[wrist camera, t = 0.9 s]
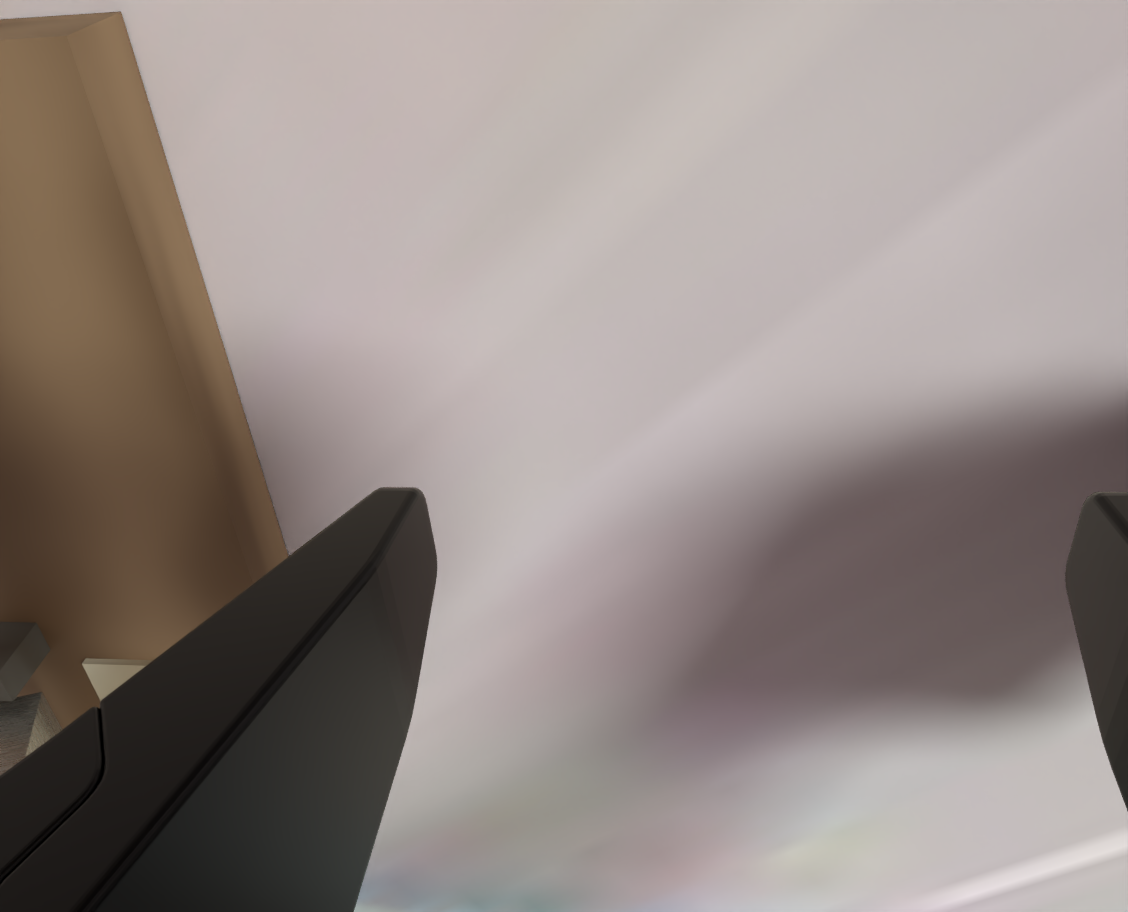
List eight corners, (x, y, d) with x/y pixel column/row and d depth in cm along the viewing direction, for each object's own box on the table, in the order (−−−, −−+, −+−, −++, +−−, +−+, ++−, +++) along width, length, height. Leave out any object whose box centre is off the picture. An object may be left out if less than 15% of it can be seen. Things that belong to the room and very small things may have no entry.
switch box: (121, 11, 19) (7, 61, 16) (338, 719, 30) (297, 828, 27) (-381, 44, 20) (-576, 95, 17) (6, 707, 32) (-69, 809, 29)
